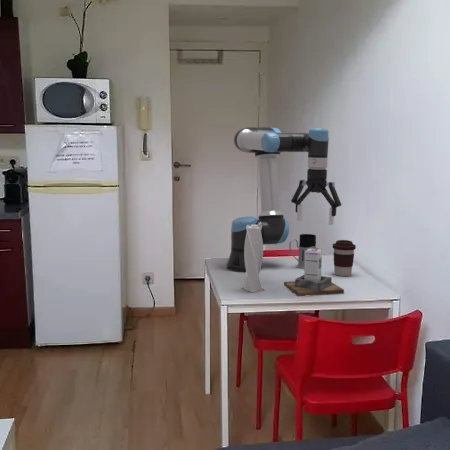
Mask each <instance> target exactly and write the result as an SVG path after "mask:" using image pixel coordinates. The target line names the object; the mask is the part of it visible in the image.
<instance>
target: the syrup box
mask: <svg viewBox="0 0 450 450" xmlns="http://www.w3.org/2000/svg"><path fill="white" fill-rule="evenodd" d="M322 251H323V250H322V249H320V248H316V249H308V250H306V251H305V269H303V271H304V272H303V273H304V274H303V275H304V280H310V281H316V282H320V281H321V276H322V262H323V261H322V259H323V258H322V254H323V253H322Z"/></svg>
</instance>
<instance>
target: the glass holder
mask: <svg viewBox="0 0 450 450" xmlns="http://www.w3.org/2000/svg"><path fill="white" fill-rule="evenodd" d="M293 241H296V247H297V249H298V258H297V257H296V256H295V255H294V253H293V251H292V248H291V244H292V242H293ZM298 241H299V242H298ZM288 245H289V246H288V247H289V248H288V249H289V251H290V254H291V256H292V257H293V258H294V259H295V260H296V261H297V268H298V269H301V270H305V251H306V250H308V249H317V235H316V234H313V233H311V234H310V233H302V234H299V240H297V239H295V238H293V239H291V240H290V241H289V244H288Z"/></svg>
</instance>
